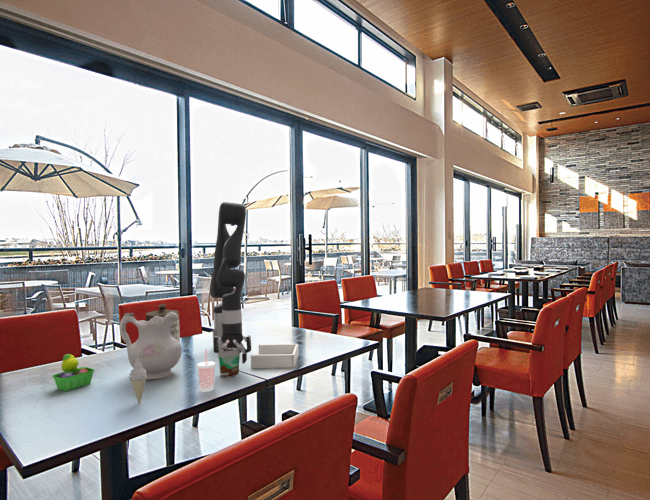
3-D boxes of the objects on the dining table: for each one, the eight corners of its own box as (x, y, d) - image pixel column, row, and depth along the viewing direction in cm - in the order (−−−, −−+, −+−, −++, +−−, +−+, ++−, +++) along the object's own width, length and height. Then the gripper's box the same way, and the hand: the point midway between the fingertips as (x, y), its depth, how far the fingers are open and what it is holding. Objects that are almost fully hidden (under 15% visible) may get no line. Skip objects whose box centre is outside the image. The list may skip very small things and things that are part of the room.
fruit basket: (63, 393, 145) (61, 360, 145) (50, 388, 150) (49, 357, 149) (95, 383, 154) (94, 352, 154) (82, 379, 159) (81, 349, 159)
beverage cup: (209, 385, 150) (208, 346, 150) (219, 388, 146) (218, 348, 146) (194, 390, 145) (193, 349, 145) (204, 393, 141) (203, 352, 141)
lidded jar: (164, 356, 190) (163, 307, 189) (139, 353, 196) (137, 306, 195) (186, 347, 204) (185, 302, 203) (162, 345, 209) (161, 301, 209)
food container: (234, 379, 156) (233, 352, 156) (218, 378, 157) (218, 351, 157) (246, 369, 168) (246, 344, 168) (232, 368, 169) (231, 343, 169)
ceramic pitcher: (122, 390, 149) (120, 321, 147) (120, 371, 167) (118, 309, 164) (185, 380, 159) (185, 315, 157) (177, 363, 177) (177, 304, 174)
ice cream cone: (133, 400, 136) (132, 354, 136) (150, 399, 137) (148, 354, 137) (128, 406, 131) (126, 359, 131) (144, 406, 132) (143, 358, 132)
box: (251, 367, 169) (250, 355, 169) (259, 355, 187) (258, 344, 187) (294, 367, 169) (294, 355, 169) (298, 355, 187) (298, 343, 187)
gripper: (252, 319, 166) (253, 360, 166) (216, 319, 166) (217, 360, 166) (248, 322, 158) (249, 366, 159) (210, 323, 159) (211, 366, 159)
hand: (233, 363), depth 162 cm, fingers open, 8 cm apart
